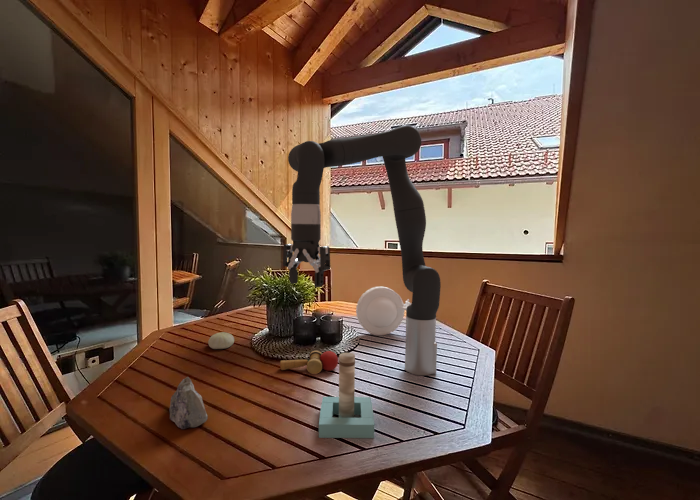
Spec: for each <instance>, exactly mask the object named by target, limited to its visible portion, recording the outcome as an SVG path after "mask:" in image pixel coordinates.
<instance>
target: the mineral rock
mask: <svg viewBox="0 0 700 500" xmlns="http://www.w3.org/2000/svg"><path fill="white" fill-rule="evenodd" d="M193 383H194V382H193V381H192V379H191V378H190V377H189V376H186V377H185V378H183V379H182V380H181V382H180V383H179V384H178V386H177V388H176V391H175V392H174V393H173V394H172V395H171V397H170V403H169V404H170V405H169V408H168V409H169V420H170V421H172V422H174V423H175V425H176V426H177V427H178V428H179V429H181V430H186V429H188V428H197V427H199V426H201V425H202V424H204V423H206V422H207V420H208V414H207V411H206V407H205V403H204V401H203V397H202V395H201V394H200V393H199V392H198V391H197V390H196V389H195V385H194V384H193Z"/></svg>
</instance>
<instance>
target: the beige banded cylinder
mask: <svg viewBox="0 0 700 500" xmlns="http://www.w3.org/2000/svg"><path fill="white" fill-rule="evenodd" d="M338 365H339V366H338V376H339V377H338V397H339V414H338V418H355V415H354V397H355V387H356V386H355V385H356V384H355V378H356V377H355V376H356V373H355V371H356V355H355V354H354V353H352V352H342V353H340V354H339V355H338Z"/></svg>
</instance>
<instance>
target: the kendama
mask: <svg viewBox="0 0 700 500" xmlns="http://www.w3.org/2000/svg"><path fill="white" fill-rule="evenodd" d="M338 365H339V356H338V355H337V354H336V353H335V352H334V351H332V350H326V351H324V352H323V353H322V352H321V351H320V350H313V351H311V352H310V353H309V355H308V359H289V360H287V359H285V360H284V359H283V360H280V362H279V366H280V368H279V369H280V370H281V371H286V370H291V369H297V368H301V367H305V366H306V370H307V372H308V373H310V374H313V375H318V374H319V373H321V371H322V370H324V371H327V372H331V371H334V370H335V369H336V368H337V366H338Z"/></svg>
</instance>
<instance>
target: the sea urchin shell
mask: <svg viewBox="0 0 700 500" xmlns="http://www.w3.org/2000/svg"><path fill="white" fill-rule="evenodd" d="M234 342H235V337H234V335H232V334H231V333H229V332H225V331H222V332H217V333H214V334H212V335H211V336H210V337H209V339H208V341H207V343H208V346H209V347H210V348H211V349H213V350H223V349H228V348H230V347H232V346H233V344H234Z"/></svg>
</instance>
